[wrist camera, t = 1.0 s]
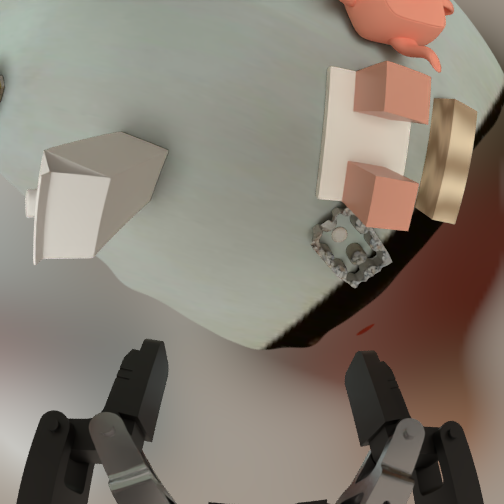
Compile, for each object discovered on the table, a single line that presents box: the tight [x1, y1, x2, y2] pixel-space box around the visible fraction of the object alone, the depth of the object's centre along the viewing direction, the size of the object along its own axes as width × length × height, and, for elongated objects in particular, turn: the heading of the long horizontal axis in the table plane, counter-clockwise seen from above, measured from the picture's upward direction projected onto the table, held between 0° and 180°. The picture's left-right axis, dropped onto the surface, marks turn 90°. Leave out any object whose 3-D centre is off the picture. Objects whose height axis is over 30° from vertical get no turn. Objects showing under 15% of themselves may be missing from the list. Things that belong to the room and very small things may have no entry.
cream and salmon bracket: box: [316, 61, 431, 231], centre depth 25 cm, size 16×11×10 cm
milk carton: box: [25, 132, 168, 265], centre depth 22 cm, size 7×7×19 cm
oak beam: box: [415, 98, 477, 224], centre depth 27 cm, size 16×4×5 cm, turn 175°
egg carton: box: [311, 207, 392, 288], centre depth 34 cm, size 11×8×4 cm
